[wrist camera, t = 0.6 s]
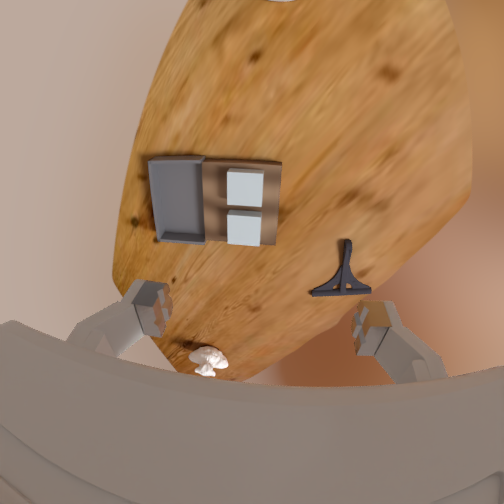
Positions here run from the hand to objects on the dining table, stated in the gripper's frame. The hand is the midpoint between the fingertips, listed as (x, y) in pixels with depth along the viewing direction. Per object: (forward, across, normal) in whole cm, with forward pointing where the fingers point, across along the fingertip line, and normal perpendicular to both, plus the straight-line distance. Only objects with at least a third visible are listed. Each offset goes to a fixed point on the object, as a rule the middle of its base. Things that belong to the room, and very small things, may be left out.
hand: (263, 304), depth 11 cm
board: (+40, +6, +12) cm, 43 cm away
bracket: (+42, -17, +26) cm, 52 cm away
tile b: (+38, +5, +16) cm, 41 cm away
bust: (+41, +15, +60) cm, 74 cm away
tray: (+40, +18, +12) cm, 46 cm away
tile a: (+38, +5, +8) cm, 39 cm away
